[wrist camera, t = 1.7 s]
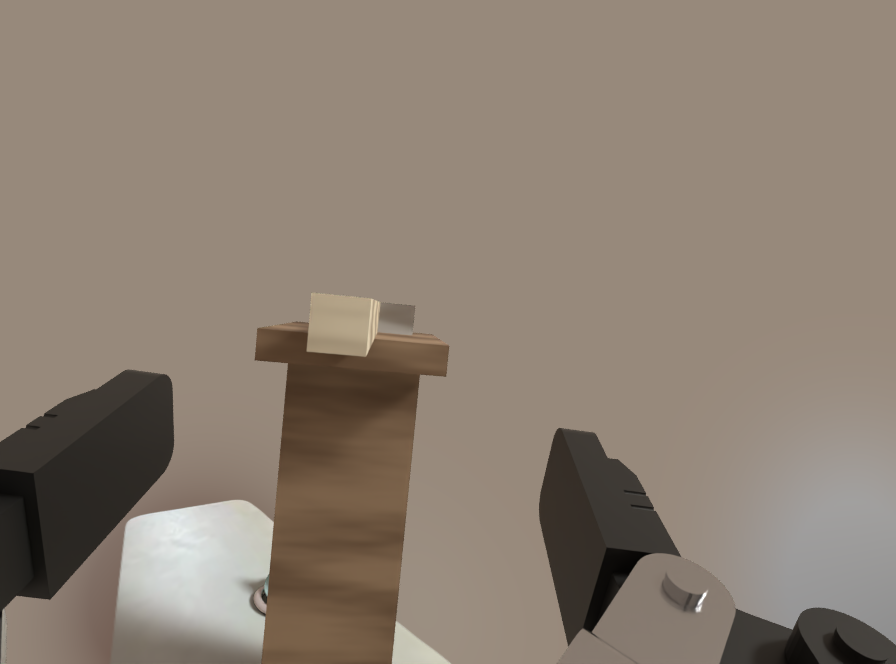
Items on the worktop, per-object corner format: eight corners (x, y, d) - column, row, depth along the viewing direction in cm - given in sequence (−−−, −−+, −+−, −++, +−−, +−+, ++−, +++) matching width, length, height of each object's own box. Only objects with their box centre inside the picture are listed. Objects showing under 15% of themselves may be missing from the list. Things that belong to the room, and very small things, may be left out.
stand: (265, 674, 48) (296, 321, 47) (398, 677, 49) (431, 334, 48) (214, 824, 34) (257, 328, 33) (401, 822, 36) (449, 345, 34)
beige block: (316, 324, 45) (319, 296, 45) (410, 333, 46) (413, 305, 46) (235, 345, 21) (240, 285, 21) (433, 362, 22) (439, 305, 22)
